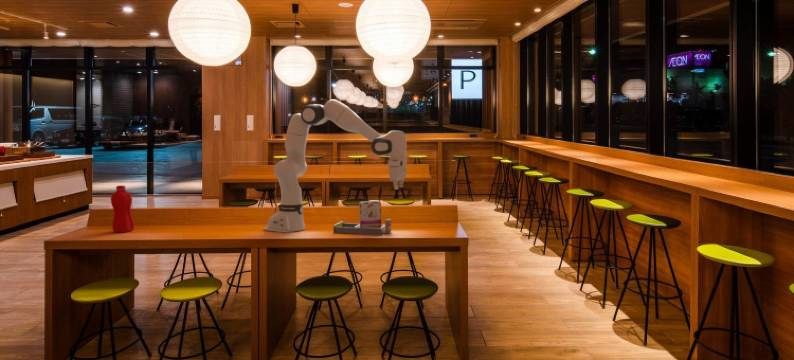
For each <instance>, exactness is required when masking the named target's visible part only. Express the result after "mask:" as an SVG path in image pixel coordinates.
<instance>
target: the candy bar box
mask: <svg viewBox="0 0 794 360" xmlns="http://www.w3.org/2000/svg"><path fill="white" fill-rule="evenodd" d="M358 203H359V204H358V205H359V206H358V209H359V224H360V227H361V228H362V227H371V228H381V225H382V203H381V201H380V200H367V201H365V200H364V201H359V202H358Z"/></svg>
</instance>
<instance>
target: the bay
mask: <svg viewBox="0 0 794 360" xmlns="http://www.w3.org/2000/svg"><path fill="white" fill-rule="evenodd" d="M359 224H360V223H354V222H353V223H352V222H351V223H350V222H344V220H340V221H339V222H338V223H335V224H333V233H335V234H337V233H338V234H350V233H355V235H367V236H368V235H372V236H383V233H382V229H367V228H355V226H357V225H359Z"/></svg>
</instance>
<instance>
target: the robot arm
mask: <svg viewBox="0 0 794 360" xmlns="http://www.w3.org/2000/svg"><path fill="white" fill-rule="evenodd" d="M328 121H331V122H332V123H334V124H335V125H336V126H338V127H339V128H341V129H342V130H344V131H346V132H350V133H354V134H357V135H360V136H362V137H364V138H365V139H367V140H368V141H370V142H371V144H370V149H371V151H372V153H373V154H375V155H376V156H389V160H388V162H387V167H388V177H389V181H390V182H393V183H392V184H393V189H394V190H399V188H403V187H404V181H405V179H406V178H407V176H408V175H407V163H408V161H407V159H408V157H407V138H406V137H407V136H406V133H405V132H404V131H401V130H395V129H393V130H390V131H388V132H387V133H386V134H382V133H380V132H378V131H377V130H375V129H374V128H373V127H371V126H370V125H369V124H367V123H366V122H365V121H364V120H363V119H362V118H361V117H360V116H358V114H357V113H355V111H353V110H352V109H351V108H350V107H349V106H347V105H346V104H344V103H343V102H340V101H339V100H337V99H335V98H334V99H329V100H328V101H326V102H325V103H324V105H323V104H320V103H319V104H318V103H313V104H308V105H305V106H304V107H303V108H302V109H301V111H300V113H299V112H297V113H296V112H295V113H294V114H292V115H291V118H290V120H289V121H288V122H289V123H288V126H287V130H286V136H285V141H284V148H285V151H286V157H285V159H280V160H279V161H277V163H275V164H274V166H273V173H274V175H275V176H276V178H277V180H278V183H279V187H280V195H281V199H280V200H281V202H280V204H279V205H277V209H278V211H276V212H275V213H274V214H273V215H271V217H269V218H268V223H267V225H266V226H265V227H263V230H264V231H267V232H268V231H270V232H277V233H279V232H280V233H290V232H300V231H304V230H306V225H305V219H304V204H303V195H302V193H303V191H302V188H301V186H300V184H299V181H298V180H299V179H298V178H300V177H302V176H303V175H304V174H305V173H306V172H307V170H308V166H307V162H306V146H307V142H308V141H307V140H308V136H309V130H310V128H311V127H312V126H320V125H324V124H326V123H327V122H328Z"/></svg>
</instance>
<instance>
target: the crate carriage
mask: <svg viewBox="0 0 794 360" xmlns="http://www.w3.org/2000/svg"><path fill="white" fill-rule="evenodd" d="M384 221H385V222H384V224H381V228H371V227H362V228H367V229H382V234H384V233H385V234H391V233H392V219H391V218H387V219H385V220H384ZM358 224H359V225H357V226H355V228H361V227H360V223H358Z"/></svg>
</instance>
